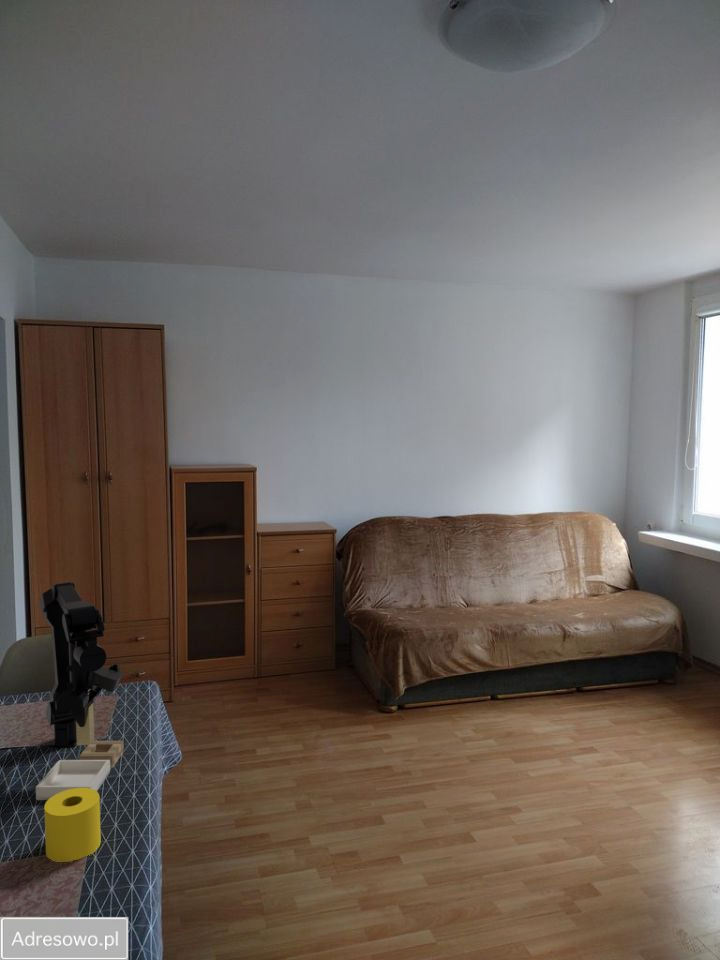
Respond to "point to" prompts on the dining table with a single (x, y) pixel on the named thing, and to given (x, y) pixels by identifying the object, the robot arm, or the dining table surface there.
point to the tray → (73, 777)
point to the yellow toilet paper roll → (72, 824)
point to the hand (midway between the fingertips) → (84, 723)
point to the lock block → (103, 751)
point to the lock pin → (86, 728)
